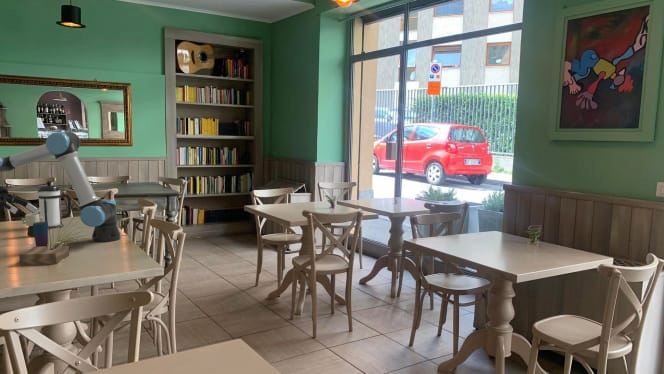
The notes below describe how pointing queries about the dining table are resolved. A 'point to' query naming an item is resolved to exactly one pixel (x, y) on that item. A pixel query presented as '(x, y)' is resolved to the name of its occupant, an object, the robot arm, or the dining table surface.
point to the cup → (41, 233)
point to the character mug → (31, 222)
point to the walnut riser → (43, 255)
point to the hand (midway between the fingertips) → (26, 211)
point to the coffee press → (52, 204)
